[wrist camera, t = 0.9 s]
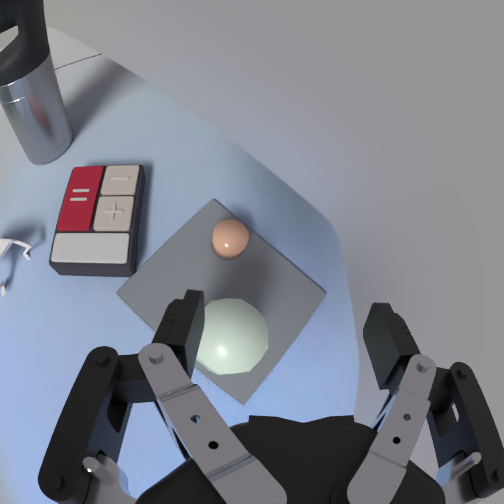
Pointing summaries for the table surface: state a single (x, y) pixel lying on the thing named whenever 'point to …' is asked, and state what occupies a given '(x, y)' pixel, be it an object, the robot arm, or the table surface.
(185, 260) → the mat
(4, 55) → the robot arm
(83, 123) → the table surface
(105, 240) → the calculator
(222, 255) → the pink pebble
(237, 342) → the pale green faceted cylinder
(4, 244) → the white toy table
